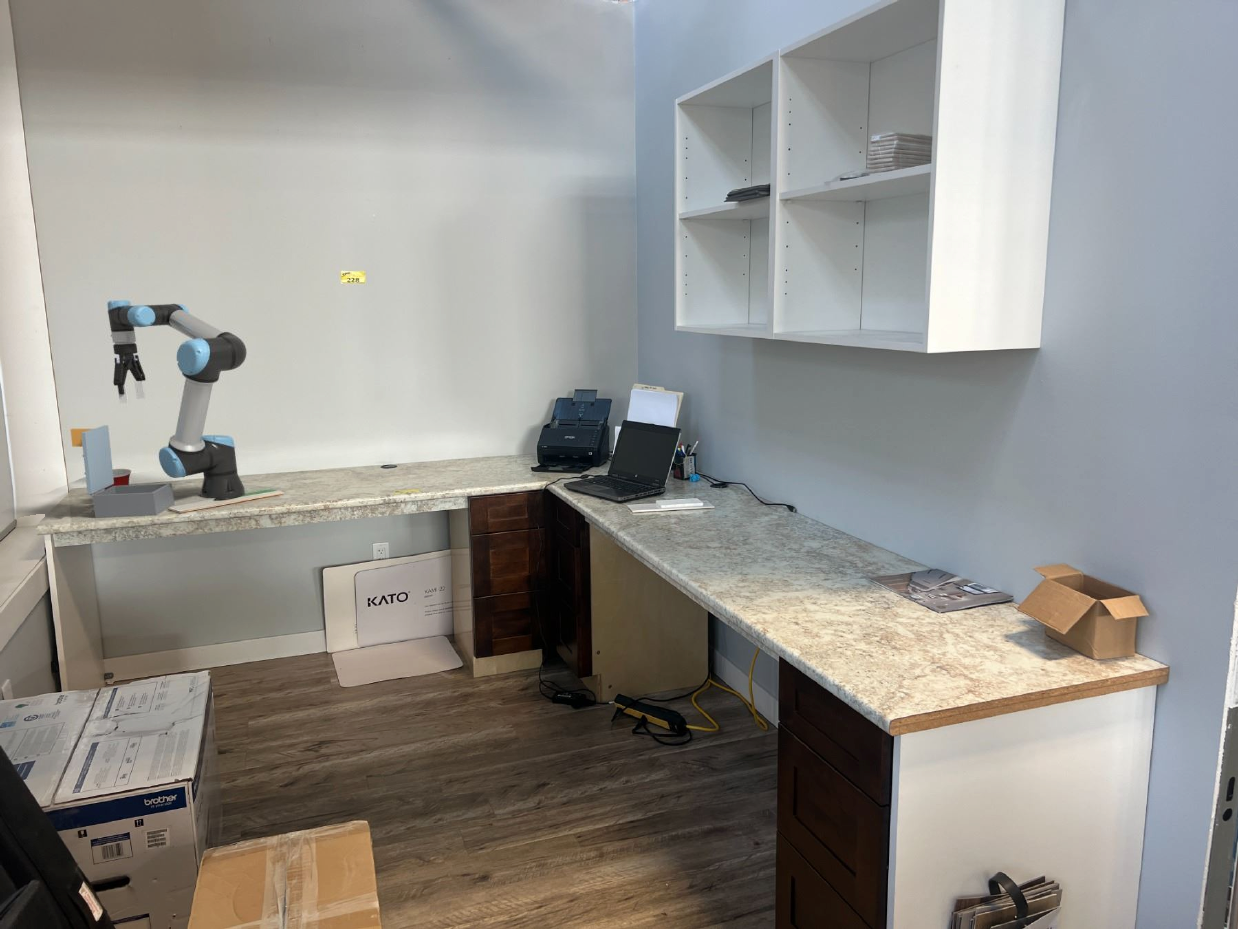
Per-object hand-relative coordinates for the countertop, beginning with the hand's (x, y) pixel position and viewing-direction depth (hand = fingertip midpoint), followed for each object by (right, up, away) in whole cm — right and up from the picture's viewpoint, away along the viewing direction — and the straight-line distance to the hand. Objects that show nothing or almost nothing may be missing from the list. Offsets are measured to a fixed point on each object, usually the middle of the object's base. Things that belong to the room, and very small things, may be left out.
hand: (132, 400), depth 324 cm
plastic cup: (-4, -38, -2) cm, 38 cm away
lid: (+1, -22, -23) cm, 32 cm away
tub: (+11, -41, -18) cm, 46 cm away
